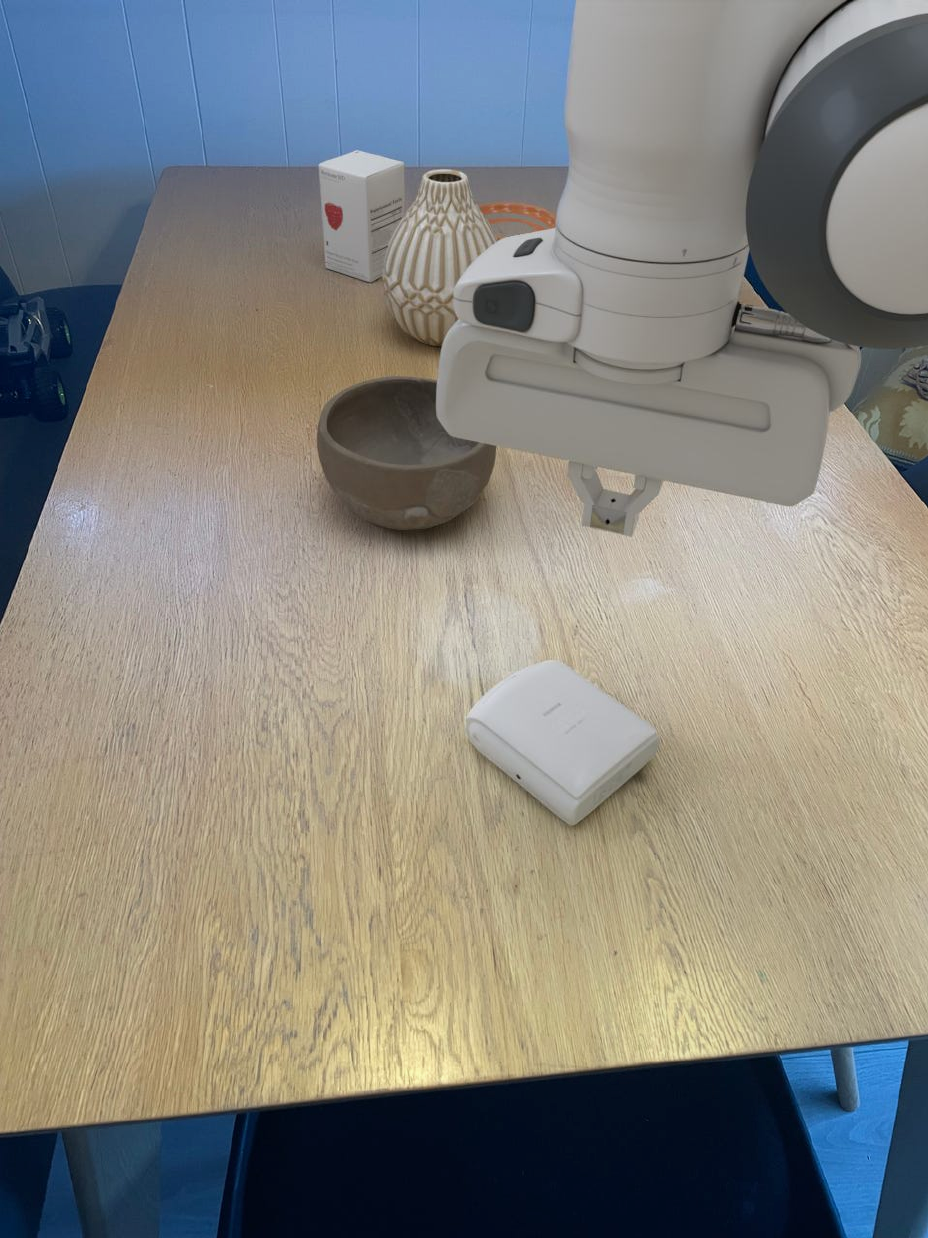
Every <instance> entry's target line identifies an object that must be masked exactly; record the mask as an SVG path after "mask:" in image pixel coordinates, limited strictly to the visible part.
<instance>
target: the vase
mask: <svg viewBox="0 0 928 1238" xmlns="http://www.w3.org/2000/svg"><path fill="white" fill-rule="evenodd" d="M478 206H479V205H478V204H477V202H476V200H475V198H474V194H473V191H472V188H471V185H470V181H469V177H468V176H467V174H465V173H464V172H462V171H460V170H456V169H447V168H446V169H445V168H443V169H441V168H440V169H439V168H438V169H432V170H428V171H427V172H425V173H424V174H423V175H422V178H421V181H420V185H419V187H418V191H417V194H416V196H415V198H414V201H413V202H412V203H411V205H409V207H408V209H407V211H405V215H404V216H403V217H402V219H401V221H400V222H399V224H398V226H397V228H396V229H395V231H394V233H393V235H392V237H391V240H390V242H389V245H388V249H387V252H386V256H385V260H384V265H383V273H382V277H381V278H382V279H381V280H382V289H383V294H384V298H385V302H386V305H387V308H388V310H389V312H390V314H391V316H392V317H393V319H394V321H395V322H396V323H397V324H398V326H399V327H400V328H401V329H402V330H403V331H404V332H405V333H407V334H408V335H409V336H411V337H412V338H413V339H415V340H416V341H418V342H420V343H422V344H425V345H428V346H434V347H442V344H443V341H444V338H445V336H446V334H447V332H448V331H449V330H450V328H451V327H452V326H453V325H454V324H455V322H456V321H457V320H458V317H457V316H456V314H455V311H454V305H453V292H454V288H455V285H456V284H457V282H458V280H459V279H460V277H461V276H462V274H463V273H464V272H465V270H466V269H467V268H468V267H469V266H470V264H471V263H472V262H473V261H474V260H475V259H476V258H477V257H478V256H479V255H481V254H482V253H483V252H484V251H485V250H486V249H488V248H489V247H490V246H492V245H493V244H494V243H496V242H497V241H498V240H497V238H496V236H495V234H494V232H493V230H492V228H491V226H490V224H489V222H488V221H487V219H486V217H485V216H484V214H483V213H482V211H481V210H480V209H479V207H478Z"/></svg>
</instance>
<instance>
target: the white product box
mask: <svg viewBox="0 0 928 1238" xmlns="http://www.w3.org/2000/svg"><path fill="white" fill-rule="evenodd" d="M318 175H319V177H318V178H319V191H320V204H321V205H320V206H321V218H322V219H321V222H322V234H323V248H324V249H323V250H324V263H325V262H328V263H330V264H328V263H325V264H324V265H325V269H327V270H331V271H332V272H333V271H334V272H336V273H340V274H342V275H345V276H349V277H352V278H354V279H357V280H359V281H364V282H367V283H373V282H374V281H377V280H379V279H380V278H382V273H383V265H384V260H385V256H386V252H387V249H388V245H389V242H390V240H391V237H392V235H393V233H394V231H395V229H396V228H397V226H398V224H399V222H400V221H401V219H402V217H403V216H404V215H405V213H406V211H405V209H406V207H405V162H403V161H402V160H401V161H400V160H396V159H393V158H388V157H386V156H383V155H379V154H373V153H370V152H366V151H363V150H358V149H355V150H353V151H351V152H348V153H345V154H342V155H340V156H336V157H334V158H331V159H327V160H324V161H322V162H320V163H319V164H318ZM331 264H332V265H331ZM334 265H335V266H334ZM337 266H339V267H337ZM340 267H342V268H340ZM343 268H345V269H343ZM346 269H347V270H346ZM359 273H360V274H359ZM362 274H363V275H362Z"/></svg>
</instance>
